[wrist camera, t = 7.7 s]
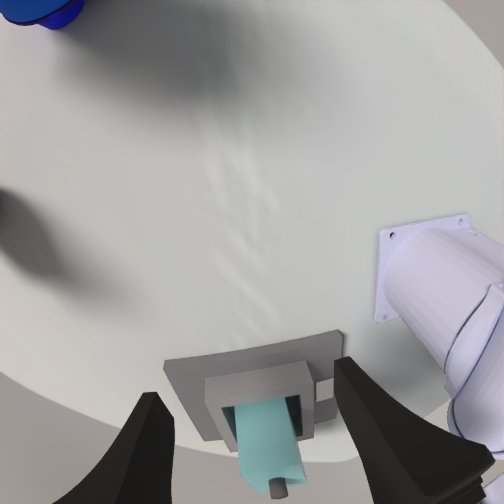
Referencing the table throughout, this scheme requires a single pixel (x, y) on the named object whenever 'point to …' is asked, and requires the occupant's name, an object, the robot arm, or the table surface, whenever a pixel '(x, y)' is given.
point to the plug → (268, 447)
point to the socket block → (259, 384)
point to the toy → (41, 12)
